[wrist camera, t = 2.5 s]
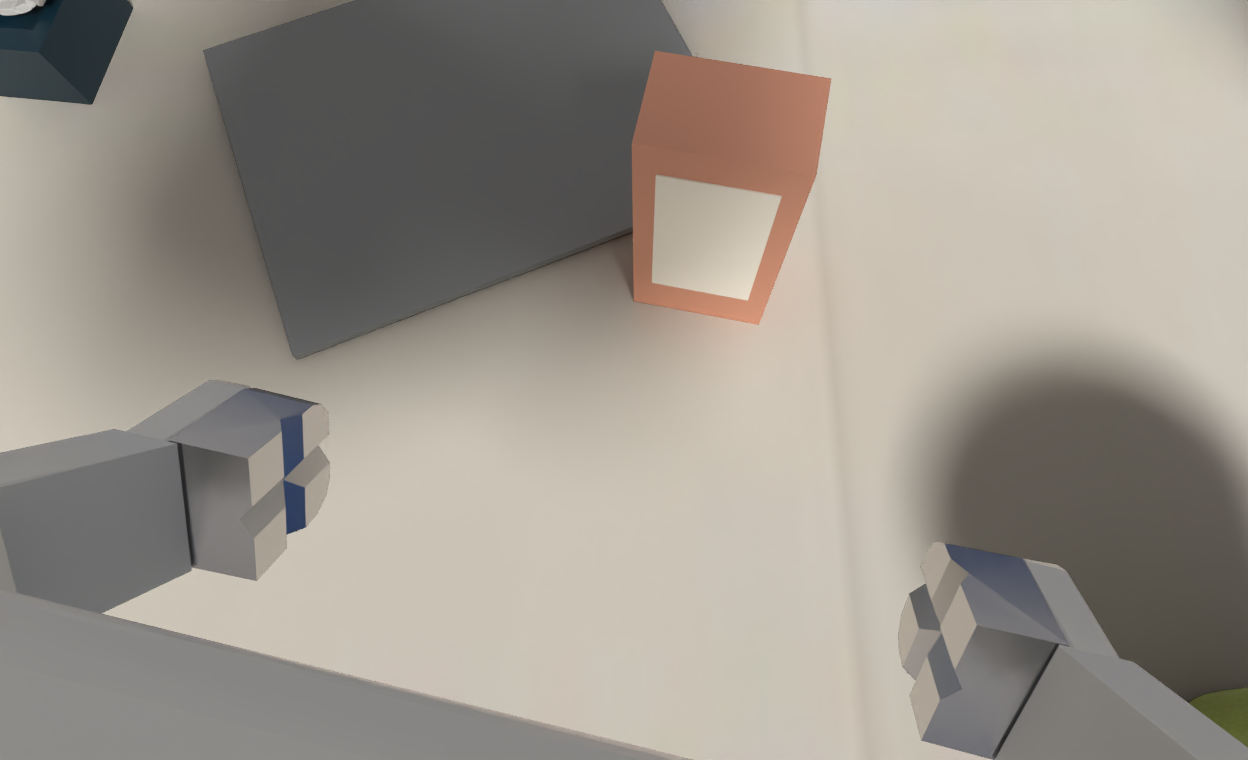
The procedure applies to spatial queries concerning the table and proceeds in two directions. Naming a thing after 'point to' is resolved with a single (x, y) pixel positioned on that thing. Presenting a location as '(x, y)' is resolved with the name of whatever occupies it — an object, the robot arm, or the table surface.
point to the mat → (432, 147)
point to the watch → (58, 47)
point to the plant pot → (1226, 711)
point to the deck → (720, 181)
